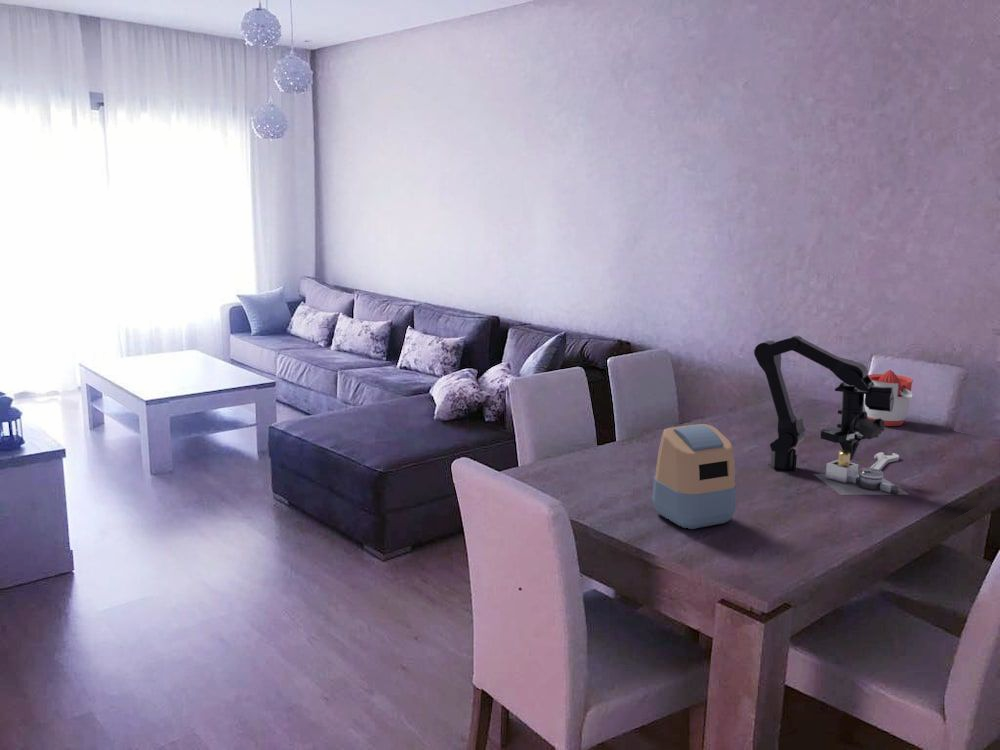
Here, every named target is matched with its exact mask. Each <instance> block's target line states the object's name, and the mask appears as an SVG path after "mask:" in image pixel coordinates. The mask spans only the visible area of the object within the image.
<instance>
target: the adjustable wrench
mask: <svg viewBox="0 0 1000 750" xmlns="http://www.w3.org/2000/svg"><path fill="white" fill-rule="evenodd" d="M873 458H874V459H876V460H877V461H876V462H875V463H874V464H872V465H871V466H870V467H869V468H873V469H878V470H881V471H882V470H883V469H884V467H885V466H886V465H887V464H889V463H893V462H898V461H899V460H900V455H899V454H897V453H896V452H895V453H894V452H892V455H885V453H884V452H878V453H876V454H874V457H873Z"/></svg>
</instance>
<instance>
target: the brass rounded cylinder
mask: <svg viewBox="0 0 1000 750" xmlns="http://www.w3.org/2000/svg"><path fill="white" fill-rule="evenodd" d="M837 460H838V463H837V465H839V466H843V467H848V466H849V465H850V462H851V461H850V452H849V451H848V450H845V449H840V450H838V451H837Z"/></svg>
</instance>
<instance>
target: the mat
mask: <svg viewBox="0 0 1000 750" xmlns="http://www.w3.org/2000/svg"><path fill="white" fill-rule="evenodd" d="M858 475H859V473H858ZM813 476H815V477H816V478H817V479H819V480H820V481H822V482H823V483H824V484H825V485H826V486H828V487H829V488H831V489H832V490H833V491H835V492H836V493H837V494H839V495H840V496H877V495H879V496H881V495H882V496H883V495H884V496H885V495H887V496H888V495H891V496H893V495H894V496H895V495H896V496H897V495H901V496H902V495H909V493H908V492H907V491H906V490H903V489H902V488H900V487H899V493H898V494H893V493H890V492H886V491H882V490H879V491H870V490H865V489H862V488H860V487H858V483H856V484H855V483H851V482H847V483H844V482H840V481H837V480H833V479H829V478H826V473H813ZM884 482H885V483H889V484H893V485H895V484H894V483H892V481H890V480H887V479H886V478H884V477H883V480H882V483H884Z"/></svg>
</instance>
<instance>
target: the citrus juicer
mask: <svg viewBox="0 0 1000 750" xmlns="http://www.w3.org/2000/svg"><path fill="white" fill-rule="evenodd" d="M867 375H868V376H869V378H870V379H871V380H872V382H873V383H874V385H875V386H879V387H893V394H894V406H893V410H892V412H888V411H879V410H870V409H869V407H866V405H865V404H864V411H865V412H867V418H868V419H870V420H871V419H873V421H874V420H876V419H879V418H881V419H882V420H884V427H885V426H887V427H898V426H902V425H903V423H904V422H905V421H906V418H907V415H908V413H909V410H910V404H911V399H912V397H913V396H914V395H913V392H912V387H913V382H914V379H913V378H910V377H907V376H903V375H897V374H896V373H895V372H894V371H893V370H892V369H889V370H887V371H885V372H884V373H874V374H872V373H871V374H867ZM865 396H866V394H864V397H865Z"/></svg>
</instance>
